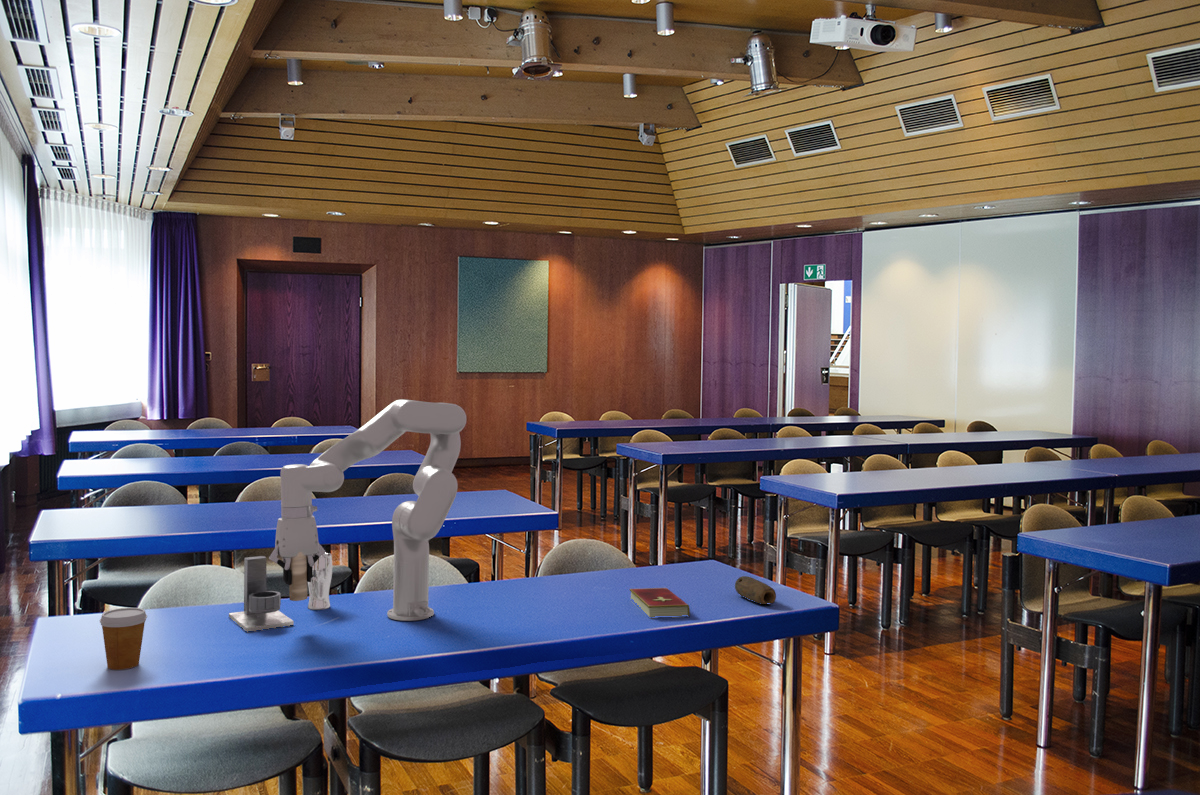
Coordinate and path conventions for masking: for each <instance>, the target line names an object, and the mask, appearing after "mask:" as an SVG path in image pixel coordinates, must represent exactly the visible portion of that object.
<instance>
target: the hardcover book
mask: <svg viewBox="0 0 1200 795" xmlns="http://www.w3.org/2000/svg"><path fill="white" fill-rule="evenodd" d="M629 592H630V600H631V599H633V600H634V602H635V603H637V605H639V607H641V609H642V610H643V611H644V612H645V613H646V614H647V615H648V616H649V617H655V616H682V615H688V616H689V617H690V612H691V611H690V610H691V609H690V605H689V604H688V603H686V602H685V601H684V600H682V599H681V597H679V596H677V594H675V593H674V592H673V591H671V590H670V589H669V588H667V587H653V588H652V587H651V588H648V587H646V588H645V587H643V588H629Z"/></svg>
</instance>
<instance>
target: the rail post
mask: <svg viewBox="0 0 1200 795" xmlns="http://www.w3.org/2000/svg"><path fill="white" fill-rule="evenodd" d="M290 569H291V572H292V584H291V585H288V586H289V587H288V588H289V589H288V590H289V591H288V592H289V593H288V594H289V601H291V602H292V601H293V602H299V601H305V600H307V599H308V582H307V556H305V555H303V553H302V552H301V551H300V552H299V553H298V554H297V556H296V557H293V558H291V562H290Z"/></svg>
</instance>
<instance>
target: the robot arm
mask: <svg viewBox="0 0 1200 795" xmlns="http://www.w3.org/2000/svg"><path fill="white" fill-rule="evenodd" d="M466 424H467V414H466V412H465V410H464V409H463V408H462V407H461V406H459V405H458V404H455V403H450V402H449V403H447V402H430V401H421V400H411V399H403V398H402V399H401V398H400V399H397V400H394V401H393V402H391V403H389V405H387V406H386V407H385V408H383V410H382V409H381V411H380V412H378V413H377V414H376V415H375V416H373V417H372V418H371V419H370V420H368V421H367V422H366V423H365V424H363V425H362V426H361V427H359V428H358V429H357V430H356V431H354V432H352V433H351V434H349V435H348V436H346V437H344V438H343V439H341V440H340V441H338V442H337V443H335V444H333V445H332V446H331V447H329V448H328V449H326V450H325V451H324V452H323V453H322V454H320V455H319V456H318V457H316V458H315V459H314V460H313V461H312V462H311V463H310V464H309V465H308V464H299V463H298V464H297V463H295V464H287V465H283V467H281V469H280V508H281V510H280V511H281V513H280V514H281V517H279V518H277V523H276V530H275V542H274V545H275V546H274V549H273V551H272V552H271V554H270V555H269V557H268V559H269V560H270V561H272V562H274V563H275V564H277V565H278V566H280V567H281V569H282V571H283V572H282V576H283V577H282V578H283V582H284V583H285V584H286V585H287V586H289V585H291V584H292V572H291V569H290V562H291V558H293V557H296V556H297V554H298V553H299V552H300V551H301V552H302V553H303V555H305V556H307V583H308V582H311V578H312V577H313V567H312V566H314V563H315V562H316V561H317V560H318V559H319V557H321V556H322V555H323V554H324V553H326V550H325V549H324V547H323V546H322V545H321V544H320V542H319V534H318V527H317V521H316V518H315V516H314V512H317V511H318V506H317V505H313V502H312V501H313V498H312V495H313V494H312V492H318V493H319V492H320V493H321V492H322V493H332V492H335V491H337V490H339V489H340V488H341V487H342V485H343V483H344V480H345V475H344V472H345V471H346V470H347V469H348V468H351V467H352V466H353V465H355V464H357V463H359V462H361V461H364V460H367V459H370V458H371V459H372V458H373V457H376V456H377V455H379V454H380V453H382V452H383V451H384V450H385V449H387V448H388V447H389V446H390V445H391V444H393V442H395V441H396V440H398V439H399V437H401V436H402V435H404V434H405V433H406V432H411V433H419V434H429V435H430V443H429V446H428V449H427V452H426V454H425V457H424V458H423V460H422V463H421V464H420V466H419V468H418V471H417V472H416V474H415V476H414V479H413V481H412V489H413V492H414V494H415V495H417V499H416V500H407V501H403V502H401V503H400V504H398V505H397V507H395V509H394V511H393V514H392V519H391V527H392V528H391V529H392V536H393V588H392V589H393V594H392V595H393V596H392V597H393V600H392V601H393V603H392V606H393V607H392V608H391V609H389V610H387V612H386V614H387V618H389V619H391V620H395V621H403V622H411V621H415V622H416V621H423V620H427V619H430V618H432V617H433V616H435V615H434V614H435V612H434V611H435V610H434V609H433V608H431V607H429V592H430V591H429V586H430V585H429V584H430V583H429V581H430V574H429V572H430V569H429V568H430V544H429V541H430V540H431V539H433V538H434V537H436V536H437V534H438V533H439V531H440V529H441V528H442V526H443V525H444V522H445V520H446V518H447V516H448V513H449V512H450V509H451V507H452V506H453V504H454V501H455V499H456V497H457V492H458V486H459V485H458V480H457V478H456V476H455V474H454V473H452V472H453V470H454V467H455V466H456V463H457V460H458V459H459V456H460V452H461V446H462V444H461V443H462V442H461V435H460V432H462V430H463V429H464V428H465V426H466ZM313 554H314V555H313ZM312 555H313V556H312ZM278 556H279V557H280V558H282V559H280V558H278ZM431 616H432V617H431ZM429 617H430V618H429Z"/></svg>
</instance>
